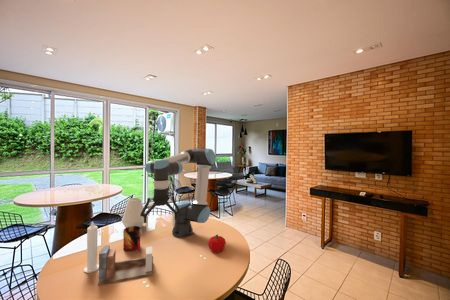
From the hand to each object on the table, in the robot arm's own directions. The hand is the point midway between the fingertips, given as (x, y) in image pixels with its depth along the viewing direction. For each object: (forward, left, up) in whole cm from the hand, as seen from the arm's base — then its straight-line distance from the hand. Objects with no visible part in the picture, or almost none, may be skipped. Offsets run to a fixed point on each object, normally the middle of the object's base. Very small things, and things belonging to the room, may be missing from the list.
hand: (160, 227), depth 108 cm
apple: (-34, -7, -21) cm, 41 cm away
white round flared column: (+34, -9, -21) cm, 41 cm away
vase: (+18, -61, -21) cm, 67 cm away
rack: (+16, +1, -21) cm, 26 cm away
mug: (+14, -26, -21) cm, 37 cm away
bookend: (+6, +1, -20) cm, 21 cm away
